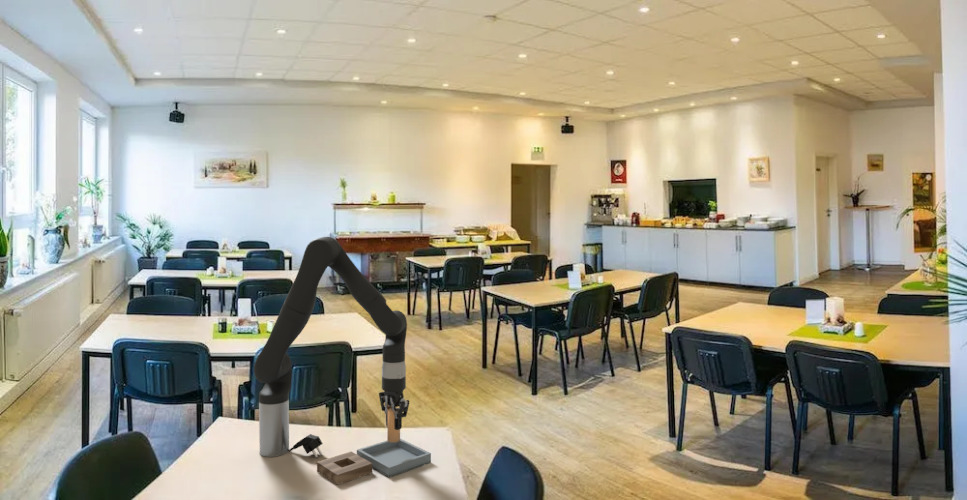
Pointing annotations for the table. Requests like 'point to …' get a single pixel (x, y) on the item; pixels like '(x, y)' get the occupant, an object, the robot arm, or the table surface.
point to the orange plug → (392, 428)
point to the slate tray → (394, 457)
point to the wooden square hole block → (344, 467)
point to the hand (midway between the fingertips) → (393, 427)
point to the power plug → (309, 444)
